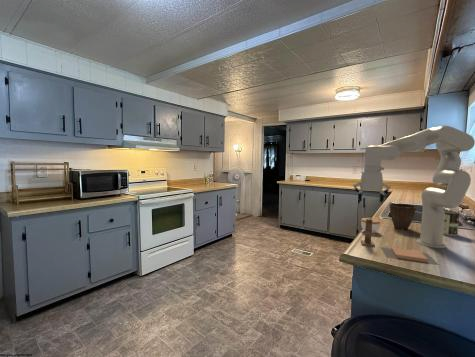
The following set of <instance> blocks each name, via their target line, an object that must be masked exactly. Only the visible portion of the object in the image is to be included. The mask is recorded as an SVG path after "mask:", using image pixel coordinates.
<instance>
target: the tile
mask: <svg viewBox="0 0 475 357" xmlns="http://www.w3.org/2000/svg"><path fill="white" fill-rule="evenodd" d="M390 248H391V251H392V253H393V254H394V256H395V257H396V258H401V259H408V260H414V261H421V262H428V259H427V258H426V257H425V256H424V255H423V254H422V253H423V252H421V251H420V250H414V249H407V248H402V247H401V248H399V247H393V246H391V247H390ZM401 259H400V260H401ZM408 260H407V261H408ZM414 261H413V262H414ZM421 262H420V263H421Z"/></svg>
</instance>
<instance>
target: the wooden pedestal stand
mask: <svg viewBox="0 0 475 357" xmlns="http://www.w3.org/2000/svg"><path fill="white" fill-rule="evenodd" d="M364 232H365V233H364V239H360V243H361V246H363V247H364V246H365V247H370V248H372V247H373V248H375V247H376V244H375V242H374V241H372V234H373V233H372V220H371V219H366V227H365V231H364Z"/></svg>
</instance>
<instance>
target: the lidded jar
mask: <svg viewBox="0 0 475 357" xmlns="http://www.w3.org/2000/svg"><path fill="white" fill-rule="evenodd" d="M366 219H371V220H372V233H371V234H375V233H377V232H378V231H379V230H380V225H381V220H379V219H377V218H373V217H371V216H370V217H363V218H361V219H360V221H361V222H360V224H361V228H362V230H363V231H364V232H365V227H366Z"/></svg>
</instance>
